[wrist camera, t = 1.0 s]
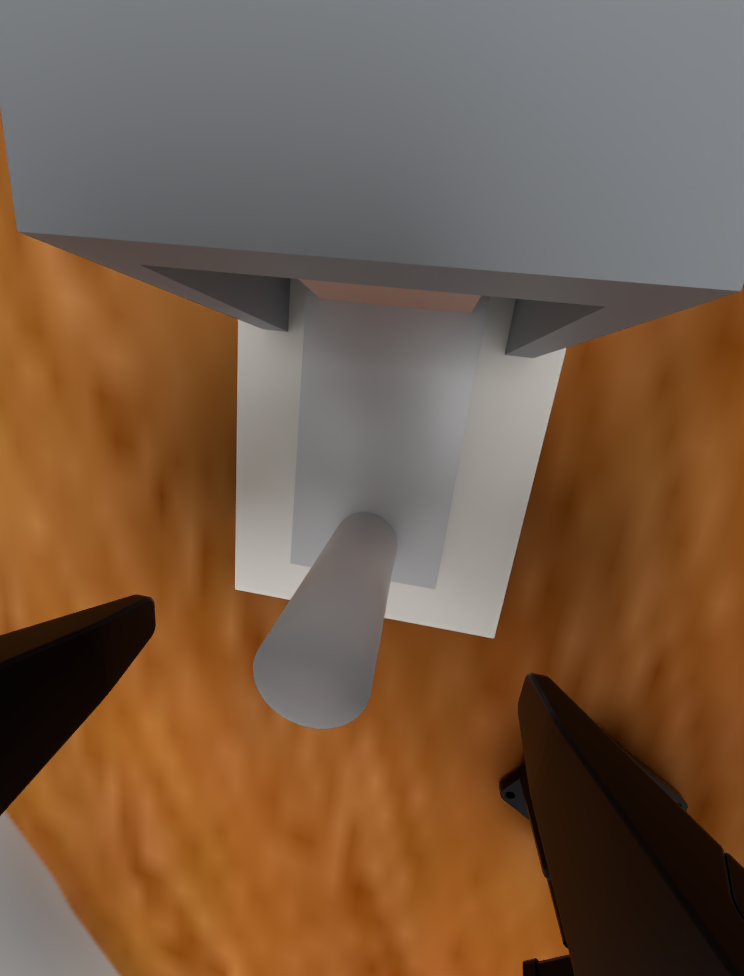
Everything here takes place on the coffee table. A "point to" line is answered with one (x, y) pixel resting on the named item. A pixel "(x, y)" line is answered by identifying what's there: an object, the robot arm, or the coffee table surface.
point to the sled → (367, 482)
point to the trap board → (478, 488)
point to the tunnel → (388, 150)
